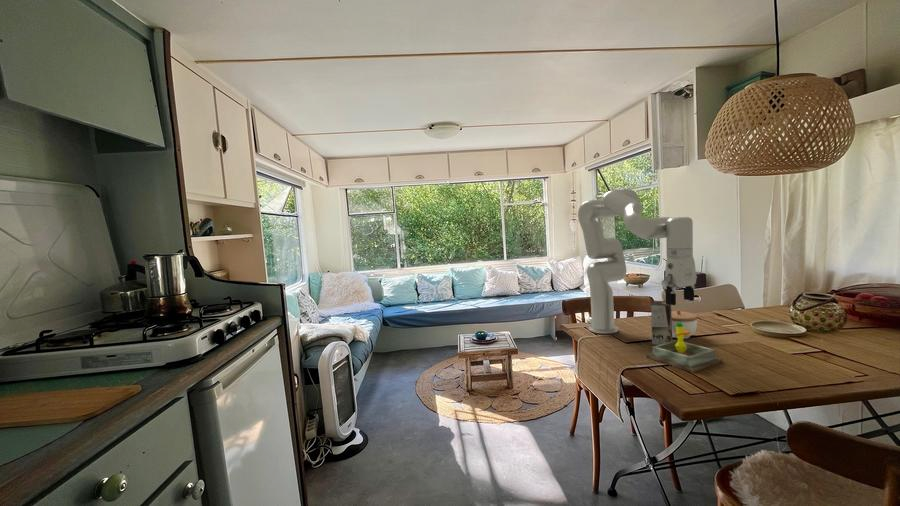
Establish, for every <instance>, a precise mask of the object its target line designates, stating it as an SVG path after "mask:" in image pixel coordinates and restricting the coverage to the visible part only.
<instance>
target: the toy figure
mask: <svg viewBox="0 0 900 506" xmlns="http://www.w3.org/2000/svg"><path fill="white" fill-rule="evenodd" d="M690 332H691V331H687V330H684V327H683V325H682V323H681V322H677V325H676V333H675V334H676V335H677V338H676V339H677V340H678V342H677V343H676V344H675V347H676V349H677V351H678V352H680V354H682V355H685V354H683V353H684V352H685V351H686V349H687V348H686V344H685V343H684V342H685V341H684V335H689V334H690ZM686 356H687V355H686Z"/></svg>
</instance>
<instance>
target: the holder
mask: <svg viewBox="0 0 900 506" xmlns="http://www.w3.org/2000/svg"><path fill="white" fill-rule="evenodd" d="M677 342H678V339H675V340H673V339H672V341H670V342H667V343H663V344H660V345H654V346H651V352H650V353H648V354H646V356H645V357H646V358H647V359H650V360H654V361H656V362H659V363H662V362H663V363H662V364H665V363H666V364H665V365H668V364H669V365H668V366H671V365H672V366H671V367H674V368H677V369H680V370H684V371H687V372H690V373H692V374H693V373H696V372H698V371H701V370H703V369H706V367H707V368H709V367H712V366H714V364H715V365H717V364H720V363H722V362H723V358H720V357H716V355H717V353H716V349H715V348H714V349H713V348H710V347H706V346H702V345H698V344H694V343H690V342H687V341H683V342H684V343H685V344H686V348H687V349H686V351H685V352H684V353H683V354H685V355H682V354H680V352H678V351H677V349H676V347H675V344H676V343H677ZM686 355H687V356H686ZM711 365H712V366H711Z"/></svg>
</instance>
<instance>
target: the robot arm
mask: <svg viewBox="0 0 900 506" xmlns="http://www.w3.org/2000/svg"><path fill="white" fill-rule="evenodd" d="M642 213H643V204H642V203H641V202H640V200H639V195H638V193H637V192H636V191H634V190H633V189H612V190H609V191H607V192H605V193H604V194H603V195H602V199H598V198H597V199H590V200H585V201H584V202H582V203H581V204H580V206H579V208H578V211H577V218H578V222H579V225H580V228H581V230H582V235H583V240H584V244H585V246H584V247H585V251H586V255H587V257H588V258H589V259H591V260H603V259H606V260H605V261H597V262H593V263H590V264H589V265H588V267H587V268H586V276H587V279H588V284H589V292H590V293H589V295H590V297H589V298H590V310H591V313H590V315H591V317H588V318H587V319H586V323H589V325H588V331H590V333H591V332H592V333H594V334H595V333H596V334H603V335H607V334H608V335H609V334H610V335H611V334H615V333H617V332H619V327H618V326H617V325H615V310H614V293H613V289H612V288H611V286H610V284H609V283H610V282H611V283H612V282H619V281H622V280H624V279H625V278H626V275H627V264H626V259H625V255H624V250H623V246H622V243H621V242H620V240H619V239H617V238H616V237H605V235H604V229H603V228H602V225H601V223H599V222H598V221H597V220H596V219H604V218H605V219H606V218H614V217H619V218H621V219H623V224H624V226H625V228H626V229H627V231H628V232H630V233H631V234H633V235H635V236H636V237H638V238H640V239H643V240H654V239H665V240H666V262H665V276H664V278H663V280H661V286H662V289H663V291H664V293H665V301H666V304H670V305H671V306H676V304H677V303H676V302H677V293H675V292H676V290H677V289H678V288H679V289H681V288H683V299H684V300H685V301H690V302H694V301H695V289H696V286H695V285H696V284H697V278H698V275H697V271H696V264H695V263H696V262H695V259H694V250H693V249H694V239H693V237H694V235H693V234H694V232H693V230H694V229H693V227H694V226H693V224H694V223H693V219H692V218H691V217H688V216H679V217H677V216H675V217H670V216H664V217H663V216H662V217H661V216H659V217H647V218H646V217H644V216H642V215H641V214H642Z"/></svg>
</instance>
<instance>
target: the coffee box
mask: <svg viewBox="0 0 900 506" xmlns="http://www.w3.org/2000/svg"><path fill="white" fill-rule="evenodd" d="M650 309H651V311H650V312H651V313H650V317H651V343H652V345H654V346H657V345H660V344H663V343H667V342H670V341H673V337H672V313H671V311H672V305H670V304H666V300H653V301H652V303H651V304H650Z"/></svg>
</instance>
